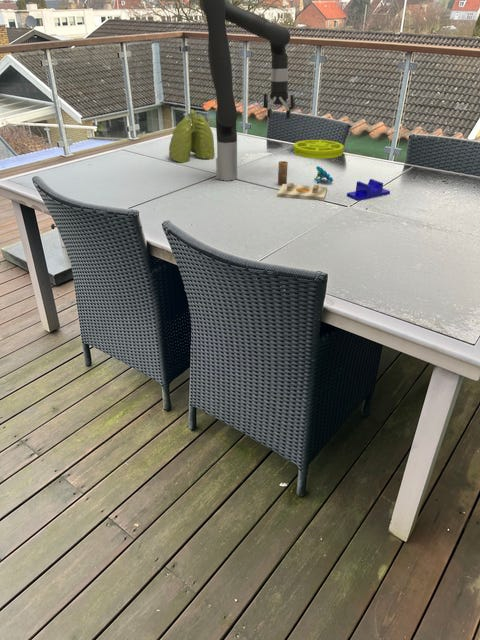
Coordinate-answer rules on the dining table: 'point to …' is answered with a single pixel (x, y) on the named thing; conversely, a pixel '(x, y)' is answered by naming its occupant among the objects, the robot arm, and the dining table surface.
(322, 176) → the gear
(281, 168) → the pin
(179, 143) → the lungs
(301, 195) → the plate
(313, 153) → the pulley
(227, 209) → the dining table surface
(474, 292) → the dining table surface
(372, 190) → the mounting bracket
